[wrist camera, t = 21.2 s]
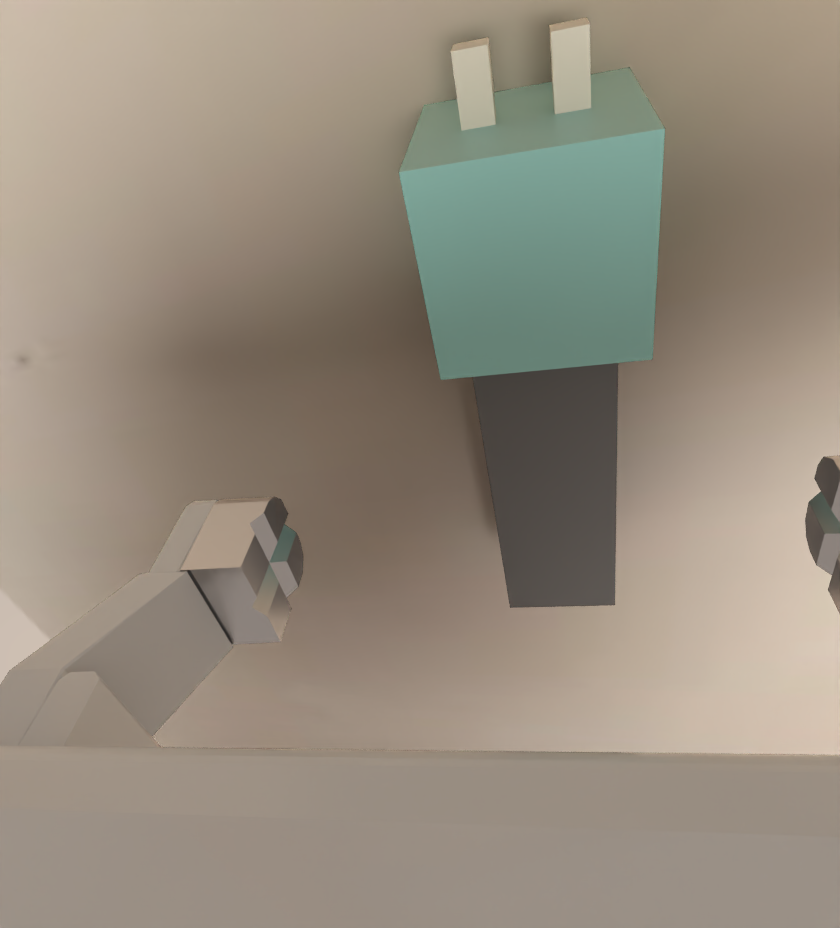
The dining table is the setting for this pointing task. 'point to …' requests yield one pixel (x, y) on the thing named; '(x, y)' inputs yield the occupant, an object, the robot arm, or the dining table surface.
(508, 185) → the plug
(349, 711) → the dining table surface
